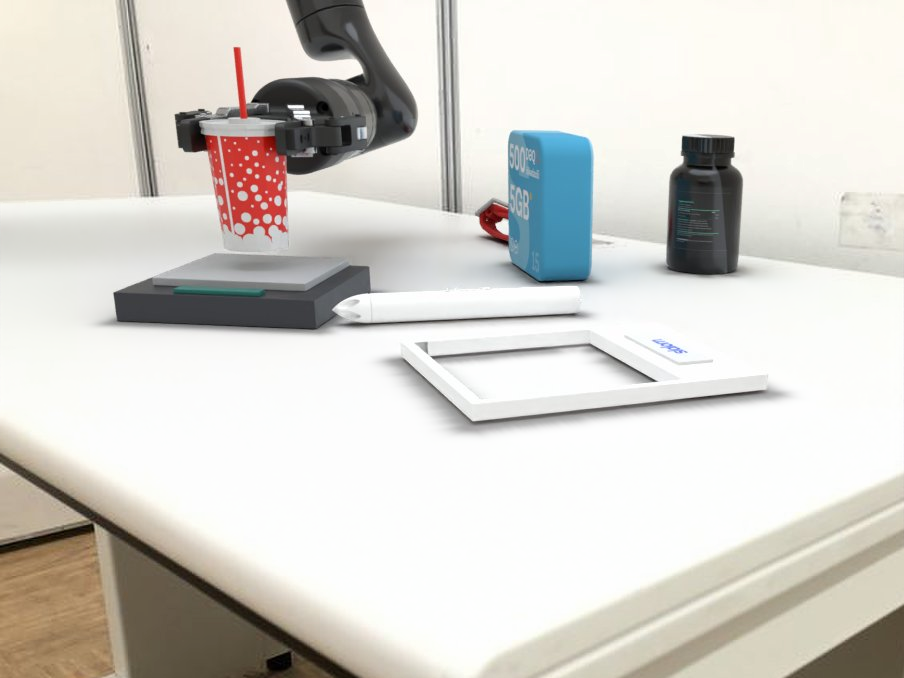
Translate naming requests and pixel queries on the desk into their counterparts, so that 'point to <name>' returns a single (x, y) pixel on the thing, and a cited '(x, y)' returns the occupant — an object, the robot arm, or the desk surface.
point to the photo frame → (639, 345)
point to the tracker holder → (493, 217)
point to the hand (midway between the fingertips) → (233, 138)
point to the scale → (245, 291)
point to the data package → (550, 204)
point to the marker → (460, 304)
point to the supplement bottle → (704, 207)
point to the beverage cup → (248, 178)
